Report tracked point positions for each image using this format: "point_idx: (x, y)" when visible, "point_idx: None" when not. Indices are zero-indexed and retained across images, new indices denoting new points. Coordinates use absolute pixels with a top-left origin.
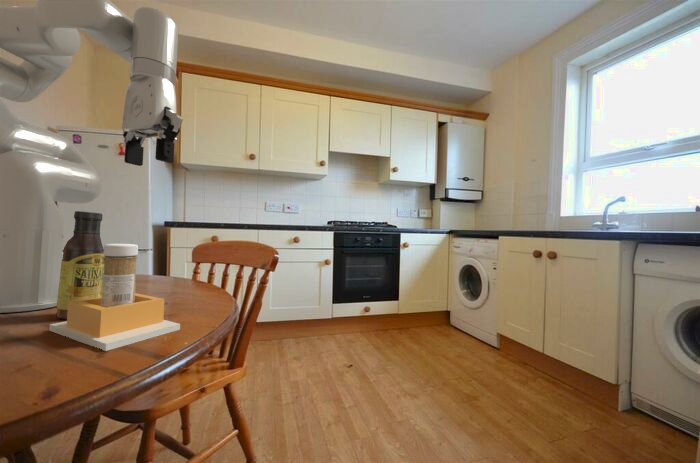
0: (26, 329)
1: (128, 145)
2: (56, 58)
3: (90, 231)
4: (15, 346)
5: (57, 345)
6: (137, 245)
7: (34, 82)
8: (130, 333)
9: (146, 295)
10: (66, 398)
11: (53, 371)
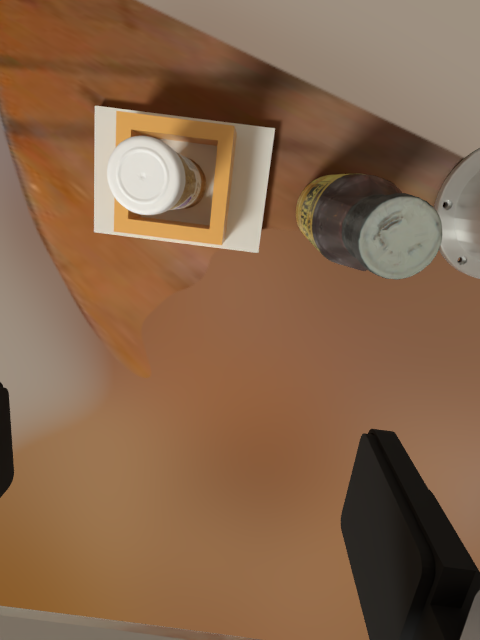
0: (316, 117)
1: (415, 545)
2: None
3: (346, 220)
4: (234, 60)
5: (185, 92)
6: (121, 203)
7: None
8: None
9: (171, 237)
10: None
11: (82, 28)
